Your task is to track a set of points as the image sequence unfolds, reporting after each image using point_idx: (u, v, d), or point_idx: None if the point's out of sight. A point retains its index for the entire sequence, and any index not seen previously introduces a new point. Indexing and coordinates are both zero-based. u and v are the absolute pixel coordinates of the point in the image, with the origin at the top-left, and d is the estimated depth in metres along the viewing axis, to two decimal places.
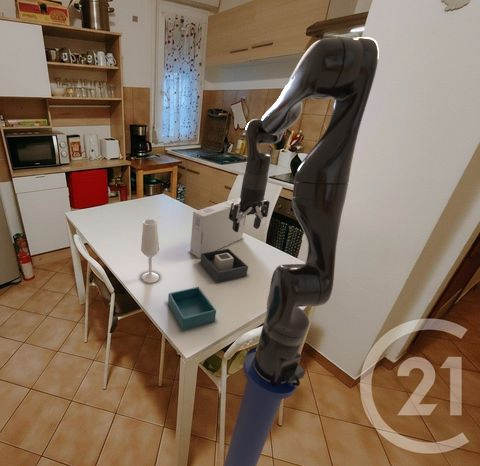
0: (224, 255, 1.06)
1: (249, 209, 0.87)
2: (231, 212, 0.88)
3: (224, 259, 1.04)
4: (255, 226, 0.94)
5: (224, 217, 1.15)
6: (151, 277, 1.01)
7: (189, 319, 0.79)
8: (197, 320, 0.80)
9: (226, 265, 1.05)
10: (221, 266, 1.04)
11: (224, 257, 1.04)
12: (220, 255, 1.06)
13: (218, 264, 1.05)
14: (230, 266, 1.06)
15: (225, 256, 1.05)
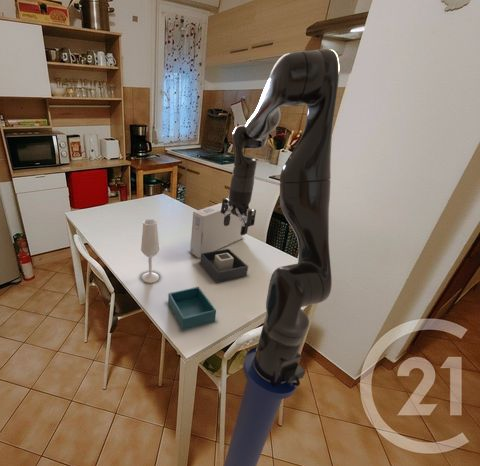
0: (224, 255, 1.06)
1: (230, 207, 0.94)
2: None
3: (224, 259, 1.04)
4: None
5: None
6: (151, 277, 1.01)
7: (189, 319, 0.79)
8: (197, 320, 0.80)
9: (226, 265, 1.05)
10: (221, 266, 1.04)
11: (224, 257, 1.04)
12: (220, 255, 1.06)
13: (218, 264, 1.05)
14: (230, 266, 1.06)
15: (225, 256, 1.05)
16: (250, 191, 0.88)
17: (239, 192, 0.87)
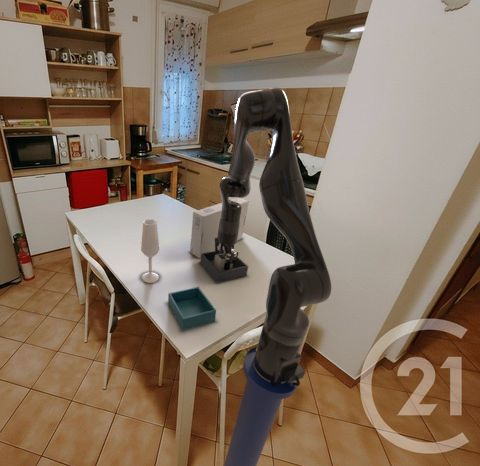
0: None
1: (219, 245, 1.04)
2: None
3: (224, 259, 1.04)
4: None
5: None
6: (151, 277, 1.01)
7: (189, 319, 0.79)
8: (197, 320, 0.80)
9: None
10: (221, 266, 1.04)
11: (224, 257, 1.04)
12: (220, 255, 1.06)
13: (218, 264, 1.05)
14: (230, 266, 1.06)
15: None
16: (235, 233, 0.97)
17: (224, 233, 0.97)
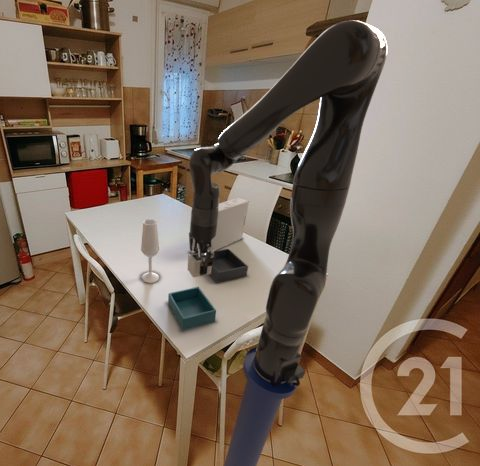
0: None
1: (193, 241, 0.78)
2: None
3: (199, 260, 0.78)
4: None
5: (224, 217, 1.15)
6: (151, 277, 1.01)
7: (189, 319, 0.79)
8: (197, 320, 0.80)
9: None
10: (196, 270, 0.79)
11: (199, 258, 0.79)
12: (195, 255, 0.80)
13: (192, 267, 0.79)
14: (208, 270, 0.80)
15: None
16: (211, 225, 0.71)
17: (197, 226, 0.72)
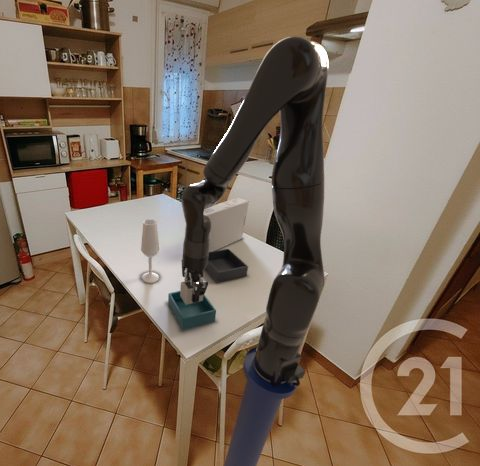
0: None
1: (186, 270, 0.80)
2: None
3: (191, 289, 0.79)
4: None
5: (224, 217, 1.15)
6: (151, 277, 1.01)
7: (189, 319, 0.79)
8: (197, 320, 0.80)
9: None
10: (188, 298, 0.80)
11: (191, 286, 0.80)
12: (187, 282, 0.82)
13: (184, 295, 0.81)
14: (200, 297, 0.82)
15: None
16: (203, 257, 0.73)
17: (189, 257, 0.73)
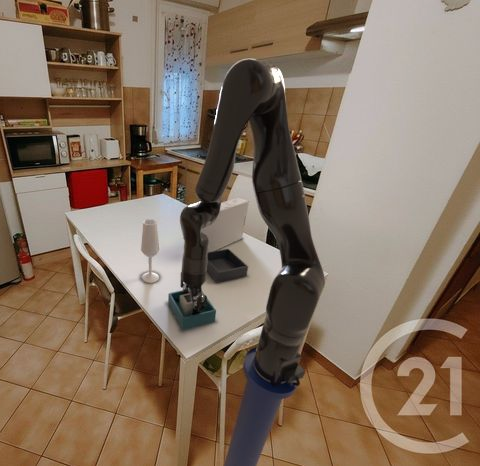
0: None
1: (185, 284, 0.82)
2: None
3: (190, 302, 0.82)
4: None
5: (224, 217, 1.15)
6: (151, 277, 1.01)
7: (189, 319, 0.79)
8: (197, 320, 0.80)
9: None
10: (187, 311, 0.82)
11: (190, 300, 0.82)
12: (186, 296, 0.84)
13: (183, 308, 0.83)
14: None
15: None
16: (201, 273, 0.75)
17: (188, 273, 0.75)
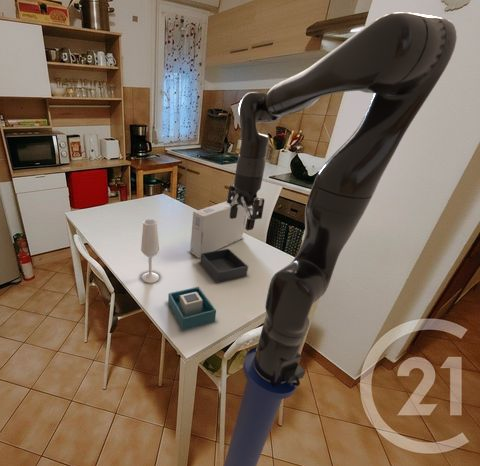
0: (191, 296, 0.84)
1: (236, 196, 0.78)
2: None
3: (190, 302, 0.82)
4: None
5: (224, 217, 1.15)
6: (151, 277, 1.01)
7: (189, 319, 0.79)
8: (197, 320, 0.80)
9: (194, 309, 0.83)
10: (187, 311, 0.82)
11: (190, 300, 0.82)
12: (186, 296, 0.84)
13: (183, 308, 0.83)
14: (199, 310, 0.84)
15: (192, 297, 0.83)
16: (259, 176, 0.71)
17: (244, 176, 0.72)
